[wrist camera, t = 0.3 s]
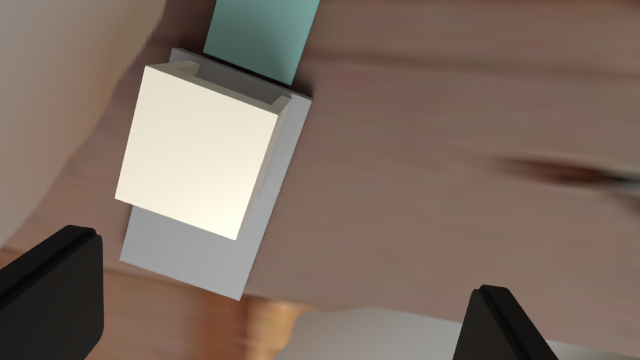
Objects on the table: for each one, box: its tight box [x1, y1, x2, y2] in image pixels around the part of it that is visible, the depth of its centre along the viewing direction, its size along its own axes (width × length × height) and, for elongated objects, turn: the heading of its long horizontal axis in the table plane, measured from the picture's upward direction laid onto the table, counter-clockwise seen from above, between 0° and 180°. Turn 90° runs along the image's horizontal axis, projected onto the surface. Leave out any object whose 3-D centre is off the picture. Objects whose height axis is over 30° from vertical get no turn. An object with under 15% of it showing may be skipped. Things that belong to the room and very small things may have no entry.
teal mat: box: [203, 0, 320, 85], centre depth 41 cm, size 9×9×1 cm
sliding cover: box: [115, 60, 291, 240], centre depth 38 cm, size 11×10×10 cm
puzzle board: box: [120, 48, 313, 301], centre depth 45 cm, size 24×14×2 cm, turn 160°
